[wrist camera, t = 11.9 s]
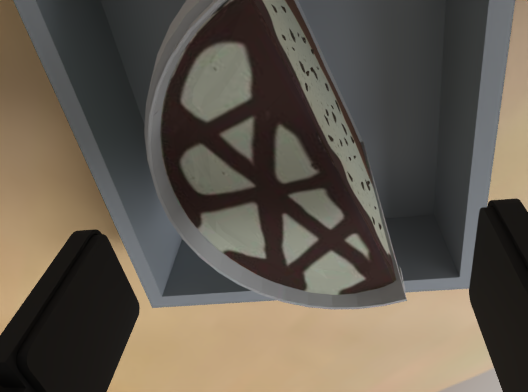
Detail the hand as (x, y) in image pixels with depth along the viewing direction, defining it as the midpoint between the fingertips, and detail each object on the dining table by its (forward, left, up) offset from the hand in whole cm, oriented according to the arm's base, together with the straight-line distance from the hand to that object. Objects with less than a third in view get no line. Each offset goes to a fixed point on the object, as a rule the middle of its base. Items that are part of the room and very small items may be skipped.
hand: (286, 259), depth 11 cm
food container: (+1, 0, -13) cm, 13 cm away
